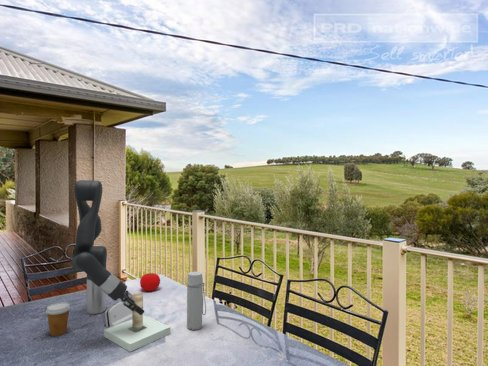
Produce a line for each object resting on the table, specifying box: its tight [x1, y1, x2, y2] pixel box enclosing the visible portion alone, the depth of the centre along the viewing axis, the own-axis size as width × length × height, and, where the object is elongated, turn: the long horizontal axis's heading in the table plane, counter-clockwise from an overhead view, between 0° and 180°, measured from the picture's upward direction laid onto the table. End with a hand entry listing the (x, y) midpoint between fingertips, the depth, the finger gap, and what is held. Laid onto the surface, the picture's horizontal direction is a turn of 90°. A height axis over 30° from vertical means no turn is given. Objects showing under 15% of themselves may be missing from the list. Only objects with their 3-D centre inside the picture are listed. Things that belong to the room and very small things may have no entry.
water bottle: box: [186, 271, 207, 331], centre depth 152 cm, size 9×8×25 cm
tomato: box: [139, 272, 161, 292], centre depth 203 cm, size 12×12×10 cm
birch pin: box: [132, 292, 144, 329], centre depth 144 cm, size 4×4×14 cm
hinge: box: [104, 301, 132, 329], centre depth 158 cm, size 17×5×10 cm, turn 155°
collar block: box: [103, 314, 171, 353], centre depth 144 cm, size 20×20×3 cm
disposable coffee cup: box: [45, 301, 71, 337], centre depth 146 cm, size 10×10×12 cm
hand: (142, 311), depth 144 cm, fingers closed on birch pin, 4 cm apart
